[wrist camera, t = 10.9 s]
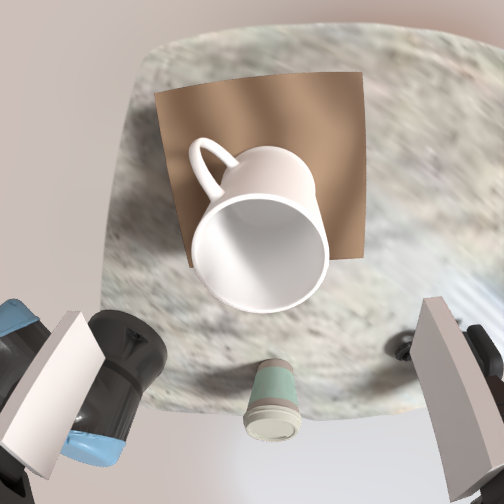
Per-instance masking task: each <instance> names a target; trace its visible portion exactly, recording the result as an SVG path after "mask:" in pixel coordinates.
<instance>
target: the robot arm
mask: <svg viewBox="0 0 504 504" xmlns="http://www.w3.org/2000/svg"><path fill="white" fill-rule="evenodd" d="M410 355H411V358H412V361H413V364H414V367H415V370H416V373H417V376H418V379H419V382H420V385H421V388H422V391H423V395H424V398H425V401H426V404H427V408H428V411H429V415H430V418H431V421H432V425H433V429H434V433H435V436H436V440H437V444H438V448H439V452H440V456H441V460H442V464H443V469H444V474H445V478H446V483H447V488H448V493H449V498H450V502H454V501H457V500H460V499H462V498H465V497H468V496H471V495H473V494H474V493H475V492H477V491H478V490H479V489H480V492H481V496H479V497H478V498H477V499H475V500H474V501H472V502H471V504H504V382H503V381H502V380H501V379H500V378H499V377H498V376H497V375H493V376H489V377H486V378H484V376H483V374H482V372H481V370H480V367H479V365H478V363H477V361H476V359H475V357H474V355H473V353H472V351H471V349H470V347H469V345H468V343H467V341H466V339H465V337H464V335H463V333H462V332H461V330H460V328H459V326H458V324H457V322H456V320H455V319H454V317H453V315H452V313H451V311H450V310H449V308H448V306H447V304H446V303H445V301H444V299H443V297H442V296H440V297H432V298H424V299H423V303H422V307H421V311H420V315H419V319H418V323H417V327H416V331H415V335H414V338H413V342H412V345H411V349H410ZM166 360H167V350H166V346H165V344H164V342H163V341H162V339H161V338H160V336H159V335H158V334H157V333H156V332H155V331H154V330H153V329H152V328H151V327H150V326H149V325H147V324H146V323H145V322H143V321H142V320H140V319H138V318H136V317H134V316H132V315H130V314H127V313H124V312H120V311H114V310H106V311H101V312H98V313H96V314H95V315H94V316H92V318H91V319H90V321H89V322H88V324H87V323H86V320H85V318H84V316H83V314H82V312H81V311H67V313H66V314H65V315H64V317H63V318H62V320H61V321H60V322H59V324H58V325H57V326H56V328H55V329H54V331H53V332H52V333H51V332H50V331H49V330H48V329H47V328H46V327H45V326H44V325H43V324H42V323H41V322H40V318H39V317H37V316H35V315H34V314H33V313H32V312H31V311H30V310H29V309H28V308H27V307H26V306H25V305H24V304H23V303H22V302H21V301H20V300H18V299H10V300H7V301H6V302H4V303H3V304H2V305H0V504H35V503H34V499H33V495H32V491H31V487H30V483H29V479H28V475H27V473H26V472H25V471H24V468H25V467H27V468H28V469H29V470H30V471H32V472H33V473H34V474H36V475H38V476H40V477H43V478H45V479H47V480H49V478H50V475H51V473H52V470H53V468H54V466H55V463H56V461H57V459H58V456H59V454H60V453H61V454H63V455H65V456H67V457H69V458H71V459H74V460H76V461H79V462H82V463H86V464H89V465H93V466H99V467H108V466H112V465H114V464H115V463H116V462H117V461H118V459H119V457H120V455H121V452H122V450H123V448H124V447H125V445H126V439H127V436H128V433H129V431H130V428H131V425H132V422H133V419H134V416H135V413H136V411H137V408H138V405H139V402H140V400H141V397H142V394H143V392H144V391H145V390H146V389H147V388H148V387H149V386H150V384H151V383H152V382H153V381H154V380H155V378H157V377H158V376H159V375H160V374H161V372H162V371H163V369H164V366H165V363H166Z"/></svg>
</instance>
